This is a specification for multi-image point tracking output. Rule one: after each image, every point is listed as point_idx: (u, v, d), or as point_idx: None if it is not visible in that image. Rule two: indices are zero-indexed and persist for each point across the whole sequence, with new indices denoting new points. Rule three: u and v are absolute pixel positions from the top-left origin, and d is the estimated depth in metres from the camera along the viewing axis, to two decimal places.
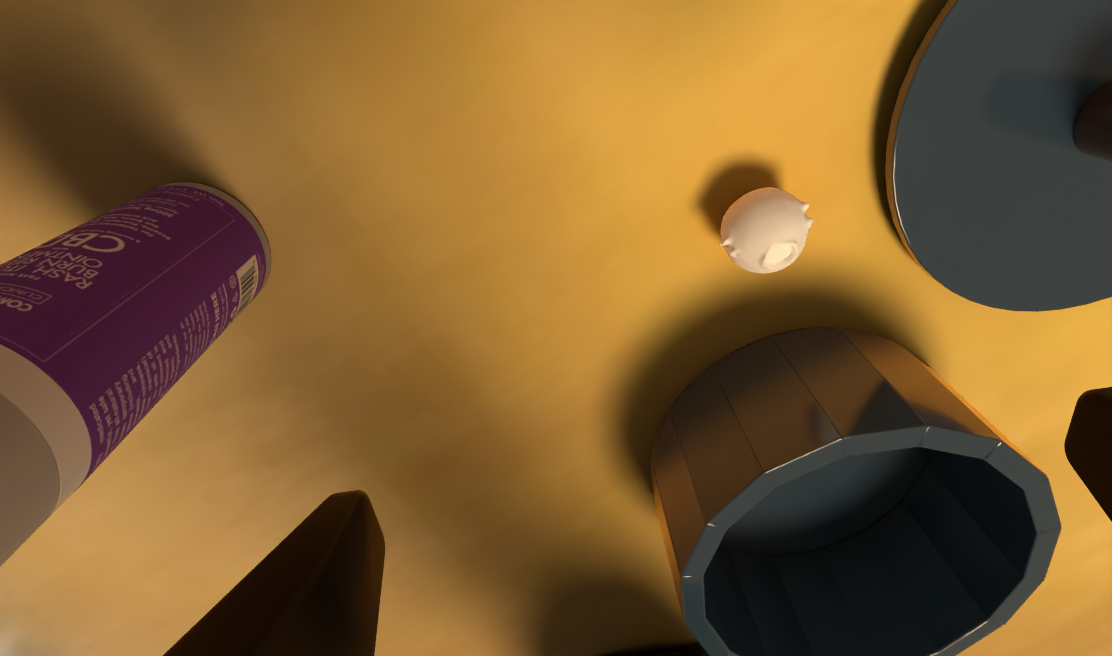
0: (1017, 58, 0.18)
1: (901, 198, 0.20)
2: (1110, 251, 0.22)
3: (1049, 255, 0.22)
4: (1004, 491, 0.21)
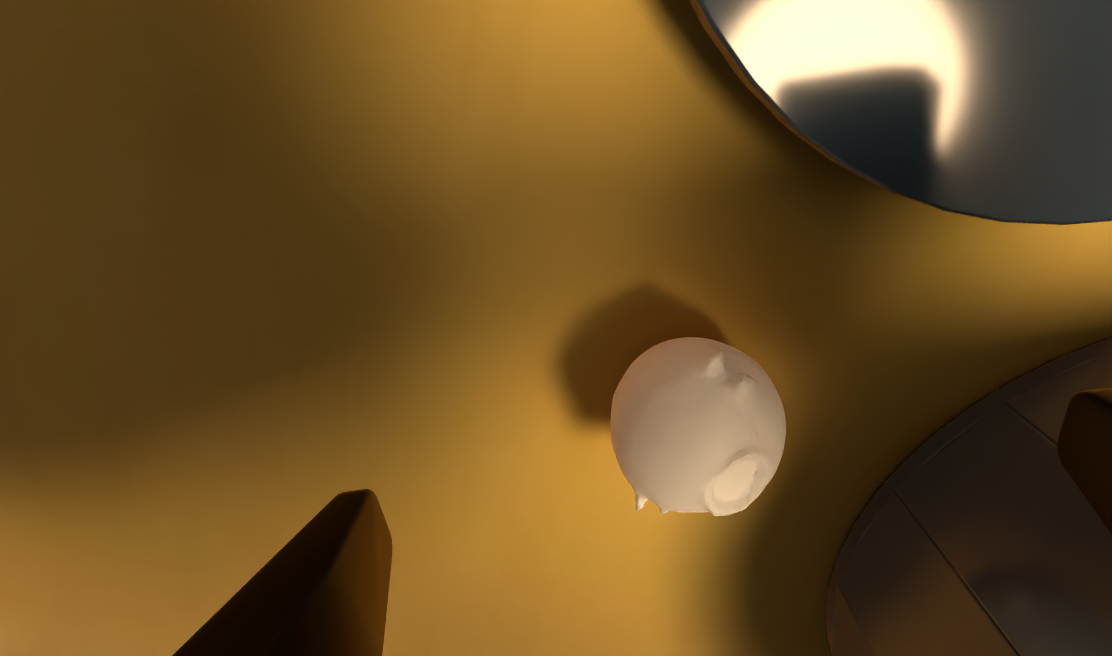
0: None
1: (898, 175, 0.09)
2: None
3: None
4: None
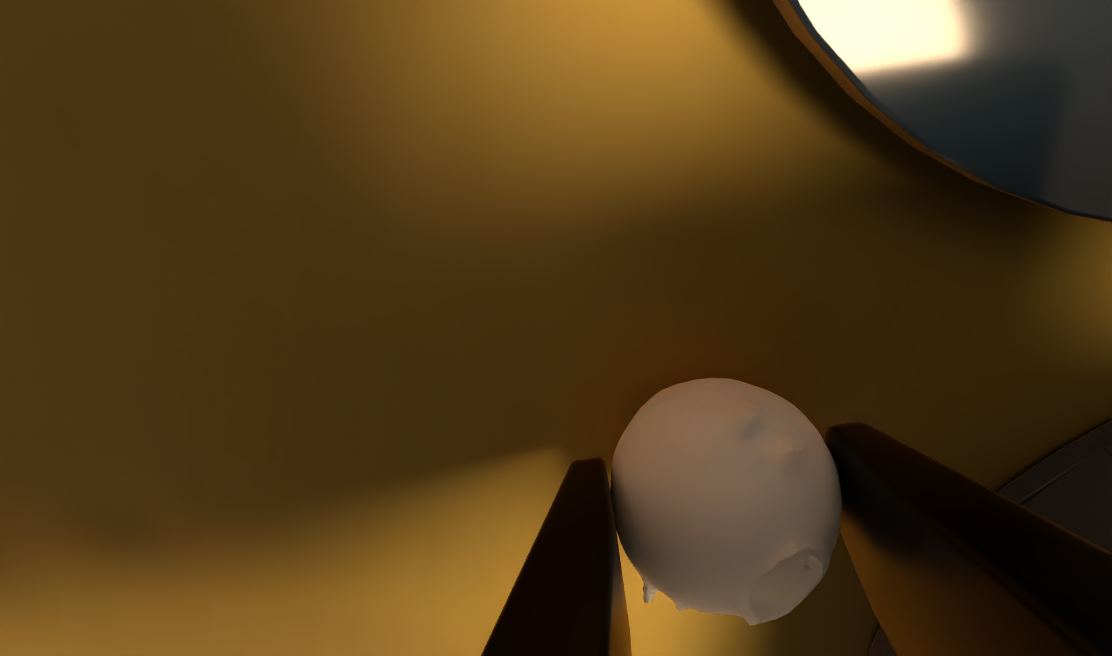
0: None
1: (1009, 166, 0.06)
2: None
3: None
4: None
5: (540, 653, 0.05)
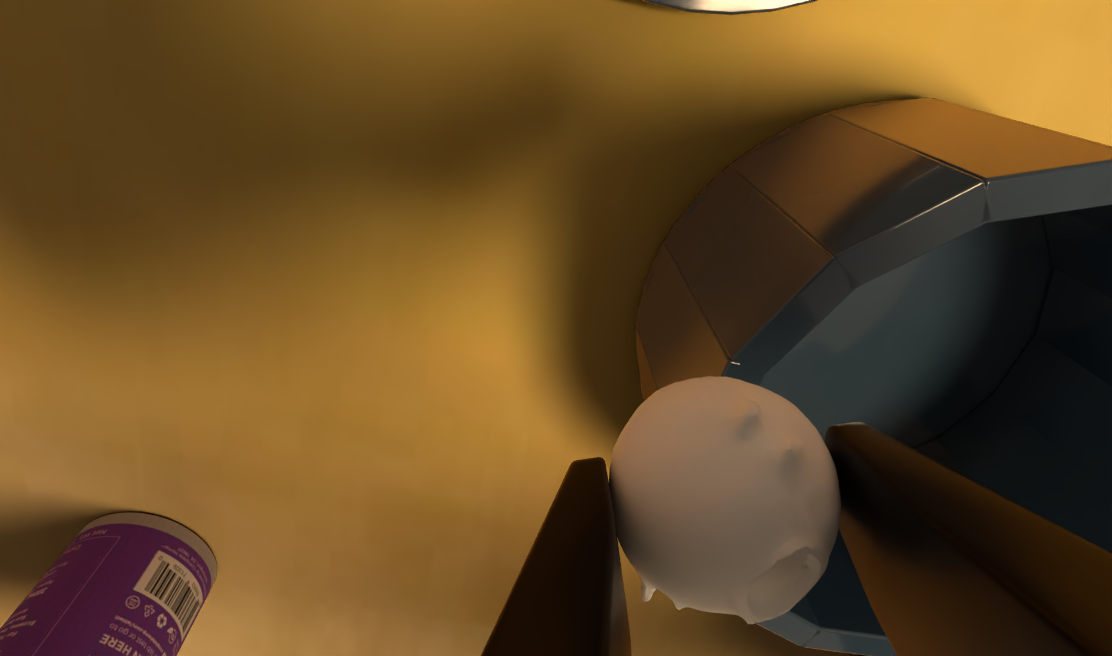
0: None
1: None
2: None
3: None
4: None
5: (541, 653, 0.05)
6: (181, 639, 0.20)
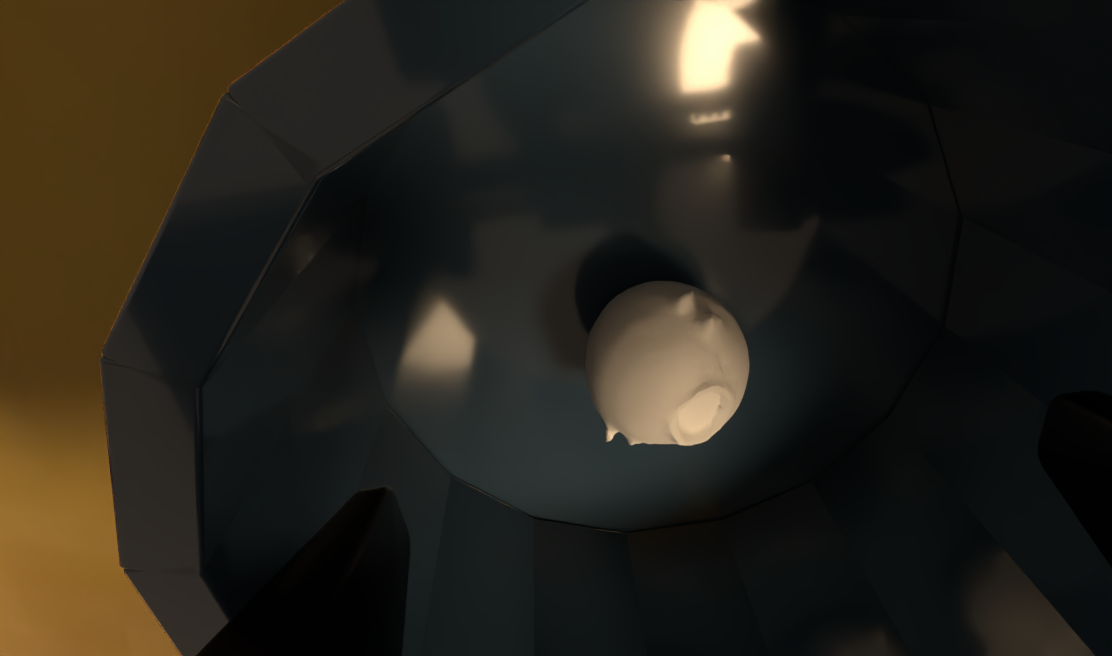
0: None
1: None
2: None
3: None
4: (1004, 7, 0.05)
5: None
6: None
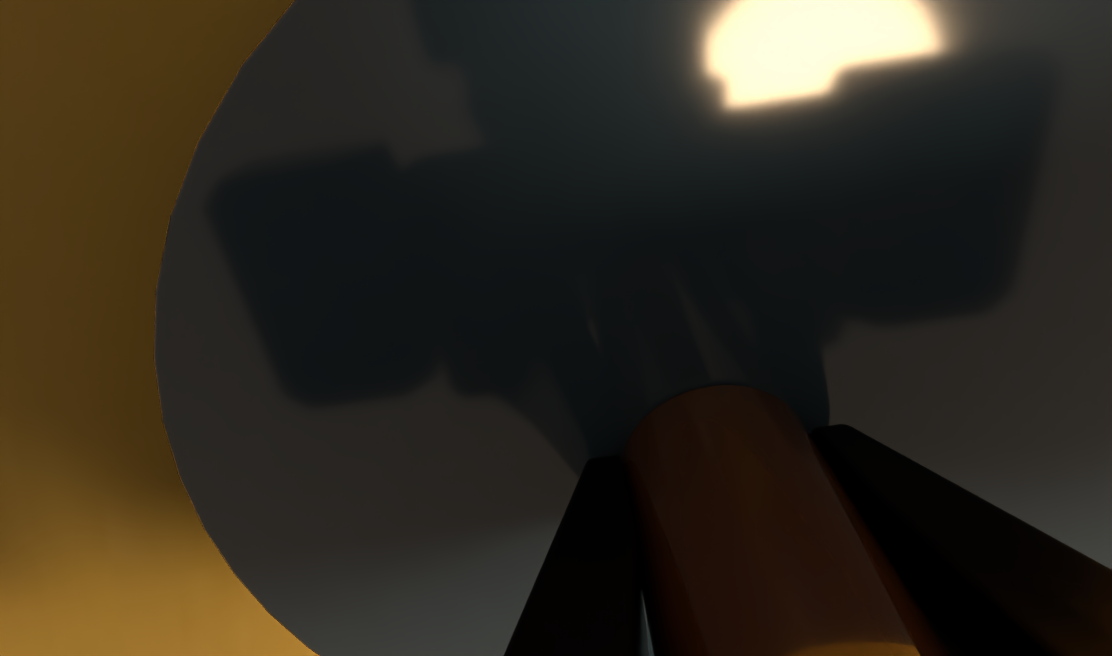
0: (424, 544, 0.09)
1: None
2: None
3: None
4: None
5: (565, 650, 0.05)
6: None
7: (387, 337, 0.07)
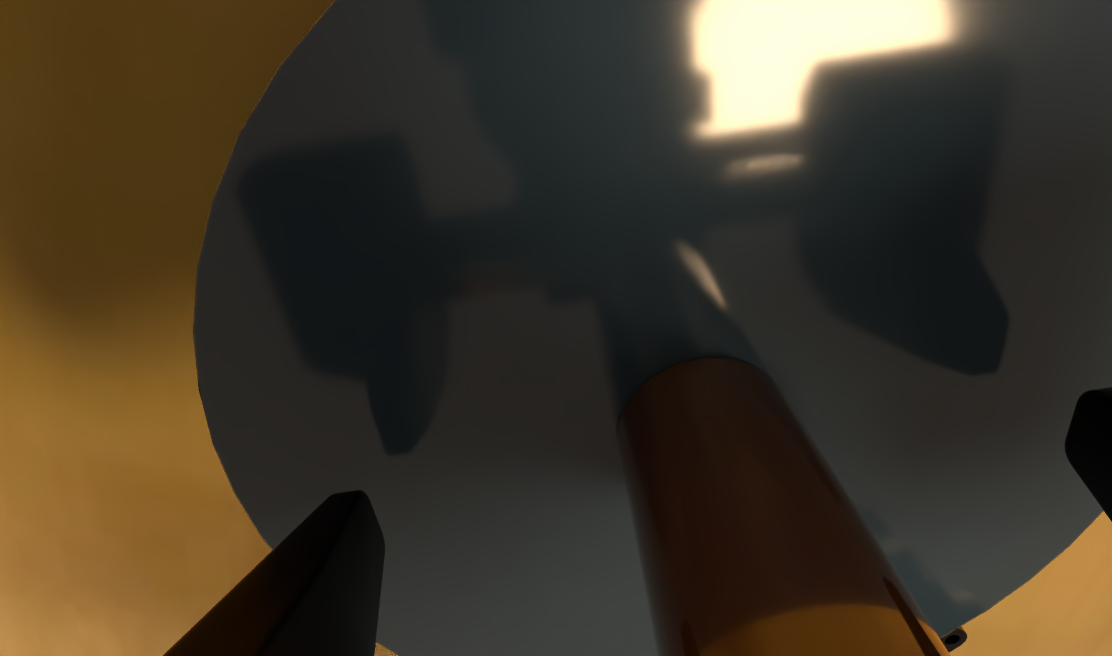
0: (437, 509, 0.09)
1: None
2: (974, 516, 0.10)
3: None
4: None
5: None
6: None
7: (405, 312, 0.08)
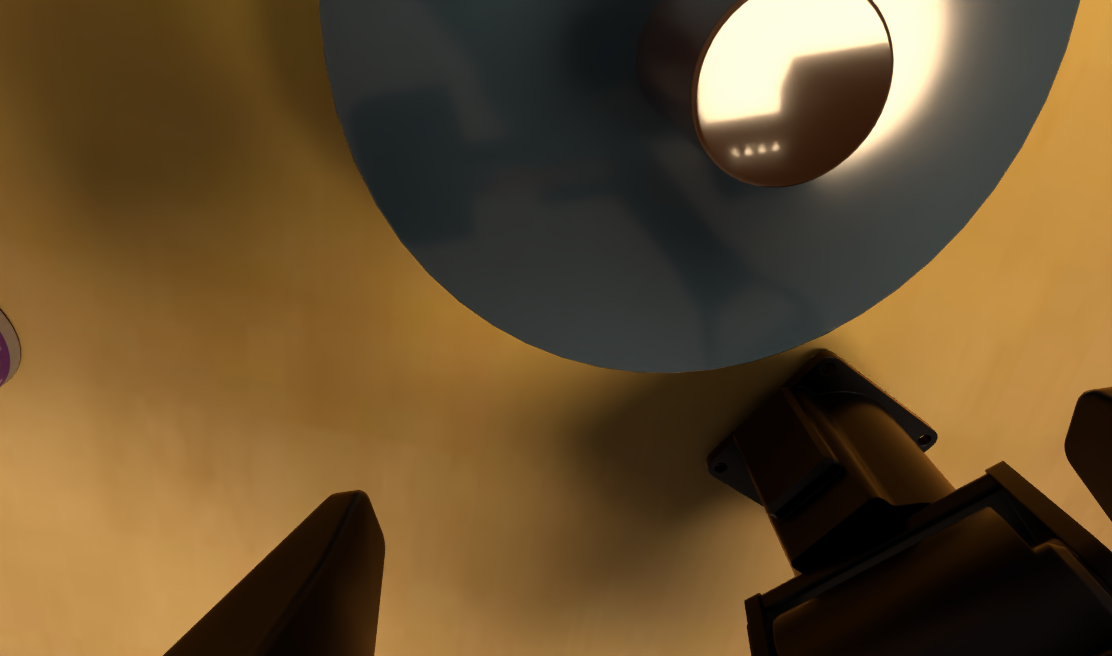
0: (494, 136, 0.12)
1: (561, 349, 0.14)
2: (916, 156, 0.12)
3: (828, 234, 0.13)
4: None
5: None
6: None
7: None
